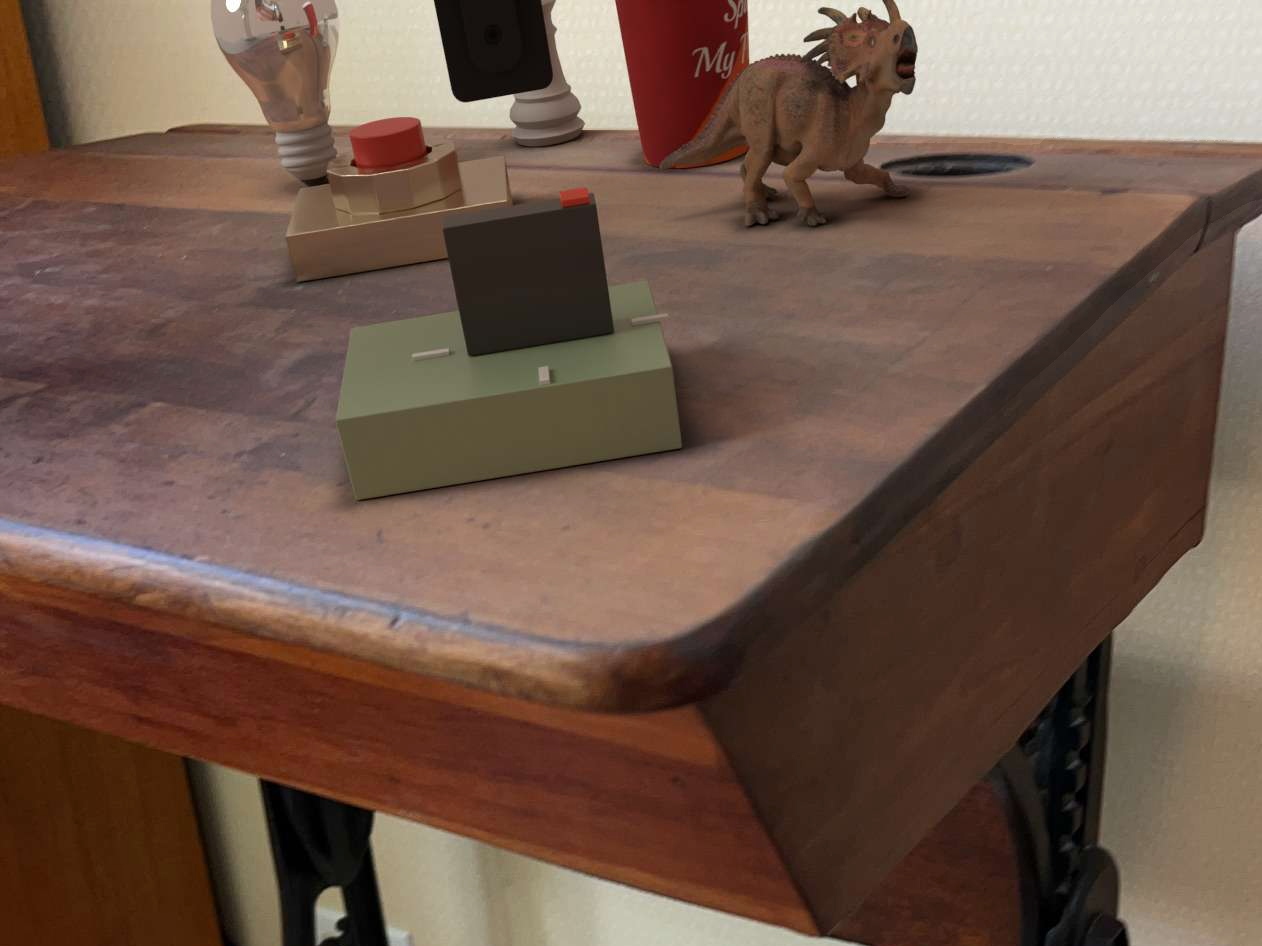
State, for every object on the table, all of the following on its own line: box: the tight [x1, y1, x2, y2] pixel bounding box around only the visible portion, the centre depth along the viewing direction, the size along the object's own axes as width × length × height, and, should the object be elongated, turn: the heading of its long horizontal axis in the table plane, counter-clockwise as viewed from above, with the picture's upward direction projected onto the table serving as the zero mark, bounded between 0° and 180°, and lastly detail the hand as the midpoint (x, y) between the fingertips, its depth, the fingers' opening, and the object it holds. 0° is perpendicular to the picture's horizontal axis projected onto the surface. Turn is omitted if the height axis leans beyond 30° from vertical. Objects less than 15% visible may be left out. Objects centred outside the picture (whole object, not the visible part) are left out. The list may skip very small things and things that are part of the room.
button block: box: [284, 136, 513, 283], centre depth 84 cm, size 11×9×4 cm
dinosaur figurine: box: [659, 0, 919, 227], centre depth 77 cm, size 14×6×9 cm, turn 63°
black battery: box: [443, 186, 614, 356], centre depth 60 cm, size 6×2×5 cm, turn 95°
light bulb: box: [210, 0, 341, 186], centre depth 93 cm, size 7×7×12 cm
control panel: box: [335, 280, 683, 501], centre depth 62 cm, size 12×10×3 cm
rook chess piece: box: [509, 0, 586, 147], centre depth 95 cm, size 4×4×8 cm
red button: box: [348, 116, 427, 168], centre depth 82 cm, size 4×4×2 cm
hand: (502, 63), depth 55 cm, fingers open, 9 cm apart
